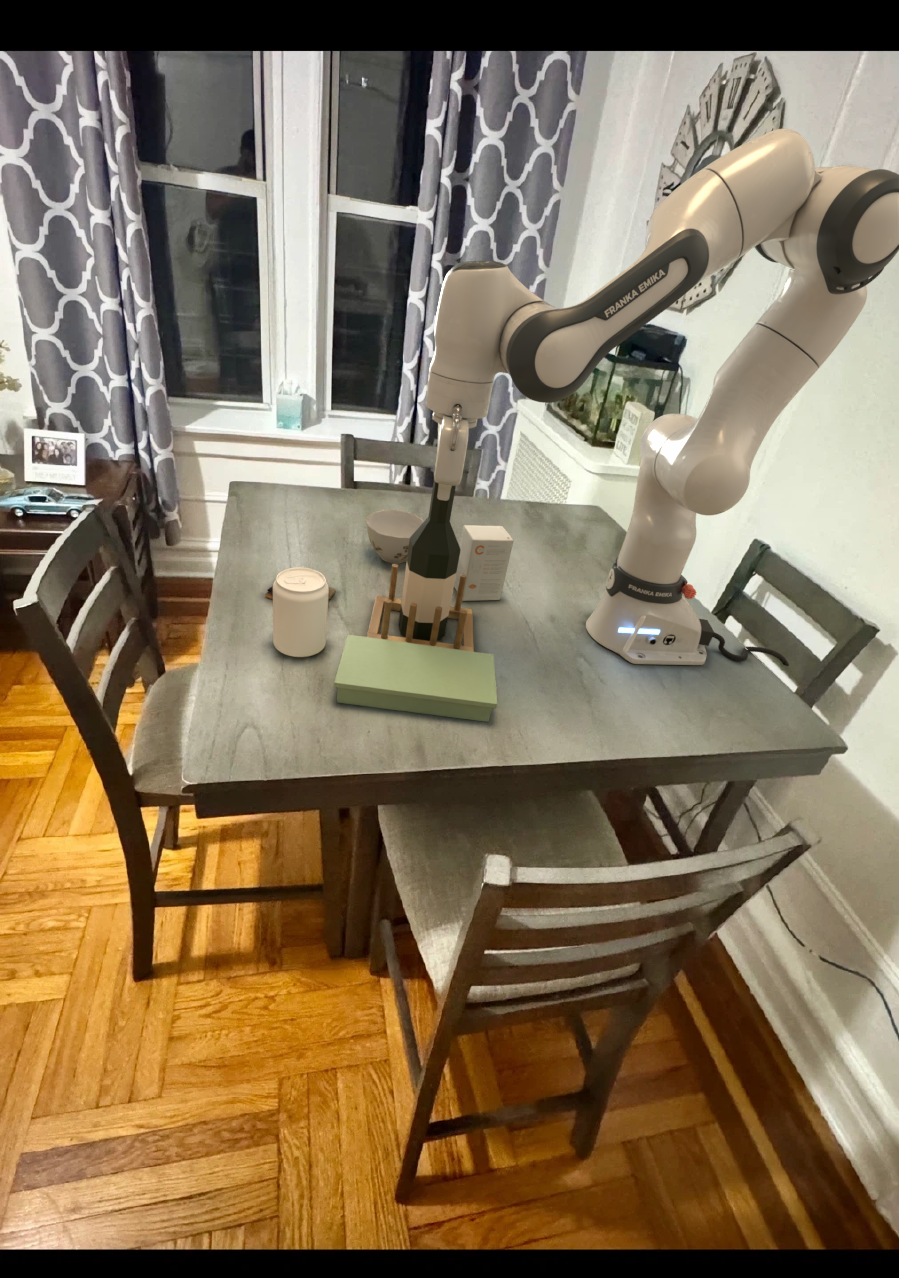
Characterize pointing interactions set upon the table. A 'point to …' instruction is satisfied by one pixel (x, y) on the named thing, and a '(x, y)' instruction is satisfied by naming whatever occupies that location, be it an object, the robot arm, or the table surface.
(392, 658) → the green low rectangular block
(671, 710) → the table surface
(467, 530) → the small box
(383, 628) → the dish rack
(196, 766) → the table surface
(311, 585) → the beverage can
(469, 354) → the robot arm
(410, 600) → the wine bottle
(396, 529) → the teacup
